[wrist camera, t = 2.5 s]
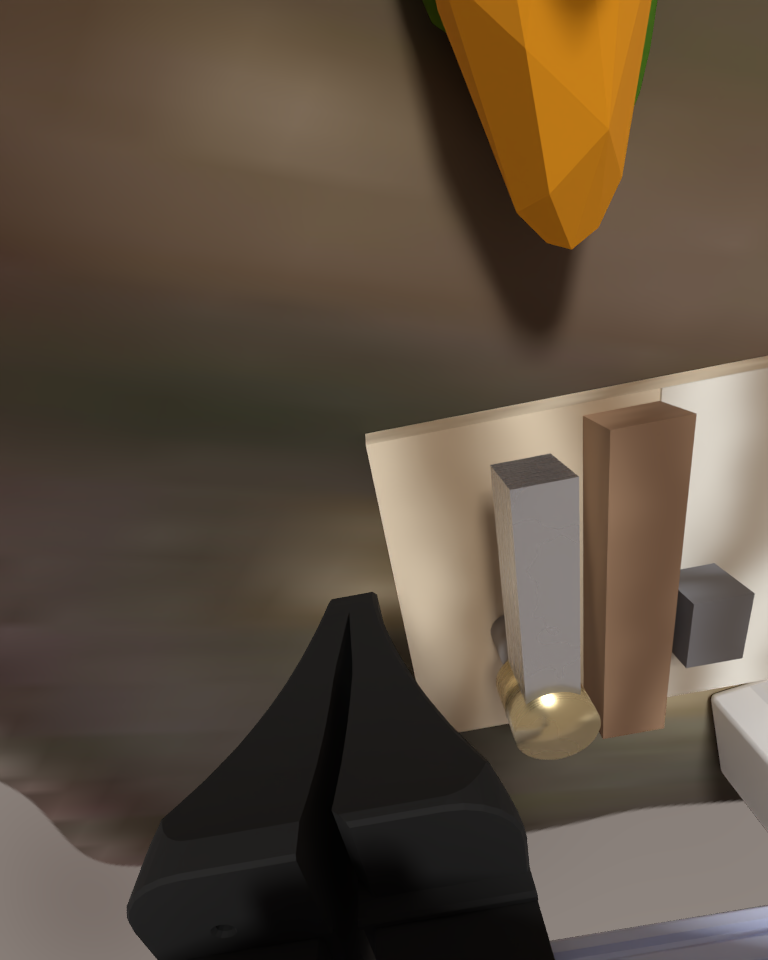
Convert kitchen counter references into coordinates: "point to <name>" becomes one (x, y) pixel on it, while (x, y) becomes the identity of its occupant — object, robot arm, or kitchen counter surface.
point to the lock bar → (541, 607)
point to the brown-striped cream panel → (593, 540)
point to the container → (744, 742)
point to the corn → (553, 98)
